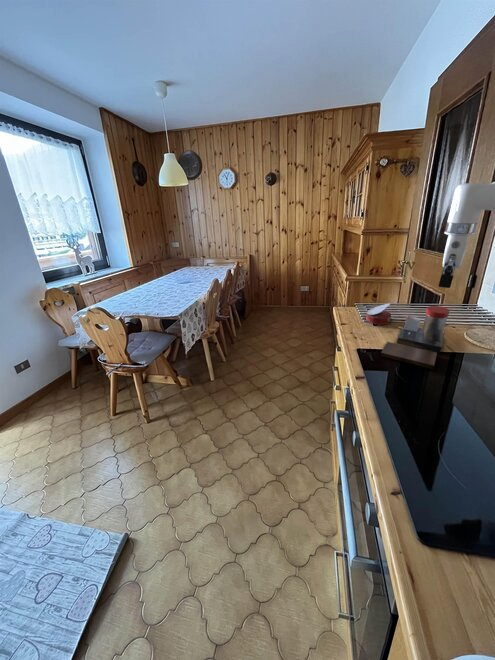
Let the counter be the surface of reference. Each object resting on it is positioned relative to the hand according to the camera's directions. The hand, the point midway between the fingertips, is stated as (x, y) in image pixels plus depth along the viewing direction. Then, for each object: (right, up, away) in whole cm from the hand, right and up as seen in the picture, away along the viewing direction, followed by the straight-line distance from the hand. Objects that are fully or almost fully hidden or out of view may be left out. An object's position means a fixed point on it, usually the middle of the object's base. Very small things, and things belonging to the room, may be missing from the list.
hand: (445, 282), depth 94 cm
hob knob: (-1, -16, +17) cm, 23 cm away
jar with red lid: (+1, -19, +10) cm, 22 cm away
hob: (0, -20, +14) cm, 24 cm away
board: (-9, -25, +6) cm, 27 cm away
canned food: (-7, -11, +32) cm, 35 cm away
